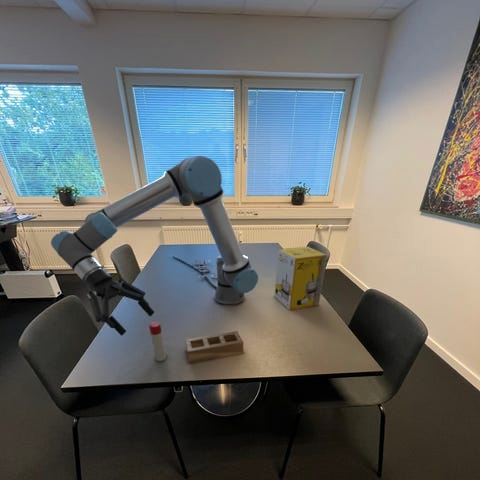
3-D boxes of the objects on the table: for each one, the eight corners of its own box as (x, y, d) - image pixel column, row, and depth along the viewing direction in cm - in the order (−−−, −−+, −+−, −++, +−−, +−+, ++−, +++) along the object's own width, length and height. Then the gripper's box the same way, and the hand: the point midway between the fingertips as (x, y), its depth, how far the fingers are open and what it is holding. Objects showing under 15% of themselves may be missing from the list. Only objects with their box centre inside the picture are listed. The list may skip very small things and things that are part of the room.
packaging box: (318, 305, 128) (327, 255, 115) (289, 310, 123) (295, 258, 110) (301, 292, 141) (307, 246, 128) (274, 296, 136) (278, 249, 123)
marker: (155, 356, 92) (149, 322, 85) (165, 354, 93) (159, 321, 86) (156, 362, 89) (149, 327, 82) (166, 360, 90) (160, 326, 83)
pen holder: (186, 350, 95) (185, 339, 93) (237, 341, 100) (237, 330, 98) (189, 363, 89) (187, 351, 86) (243, 353, 94) (243, 341, 91)
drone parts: (226, 261, 189) (226, 257, 187) (235, 279, 159) (235, 274, 158) (194, 262, 184) (194, 258, 183) (197, 280, 155) (197, 275, 153)
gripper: (61, 281, 72) (114, 337, 75) (126, 257, 92) (167, 302, 95) (55, 295, 77) (105, 348, 79) (119, 269, 97) (157, 312, 99)
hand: (139, 323), depth 87 cm, fingers open, 13 cm apart
